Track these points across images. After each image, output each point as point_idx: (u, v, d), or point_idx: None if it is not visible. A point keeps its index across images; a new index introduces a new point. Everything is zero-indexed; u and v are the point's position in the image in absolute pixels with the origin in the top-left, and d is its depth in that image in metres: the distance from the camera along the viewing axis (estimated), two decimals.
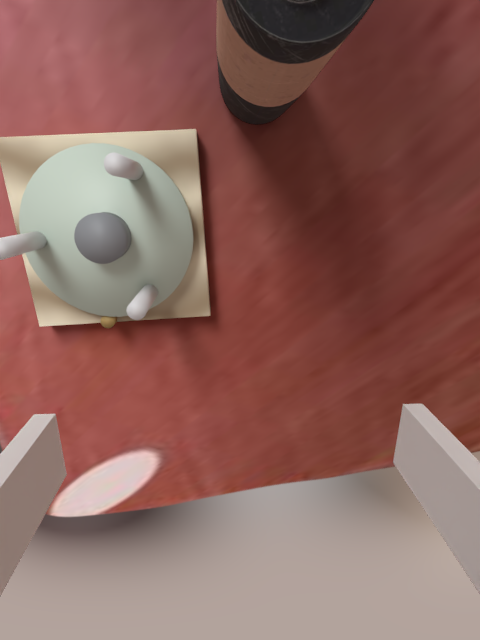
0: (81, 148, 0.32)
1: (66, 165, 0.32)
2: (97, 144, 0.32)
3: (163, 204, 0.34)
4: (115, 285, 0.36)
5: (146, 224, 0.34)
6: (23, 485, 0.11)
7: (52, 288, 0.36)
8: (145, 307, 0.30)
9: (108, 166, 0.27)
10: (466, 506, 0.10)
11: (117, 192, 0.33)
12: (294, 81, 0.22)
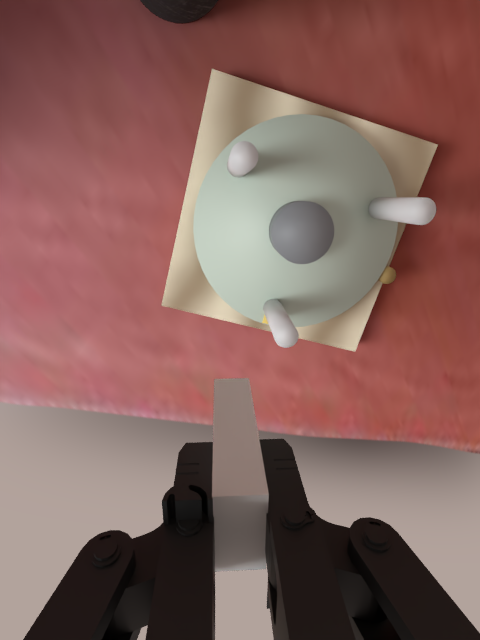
0: (197, 217, 0.27)
1: (209, 241, 0.28)
2: (198, 197, 0.27)
3: (286, 144, 0.26)
4: (352, 247, 0.29)
5: (300, 177, 0.27)
6: None
7: (326, 316, 0.31)
8: None
9: (243, 166, 0.21)
10: None
11: (255, 196, 0.27)
12: None
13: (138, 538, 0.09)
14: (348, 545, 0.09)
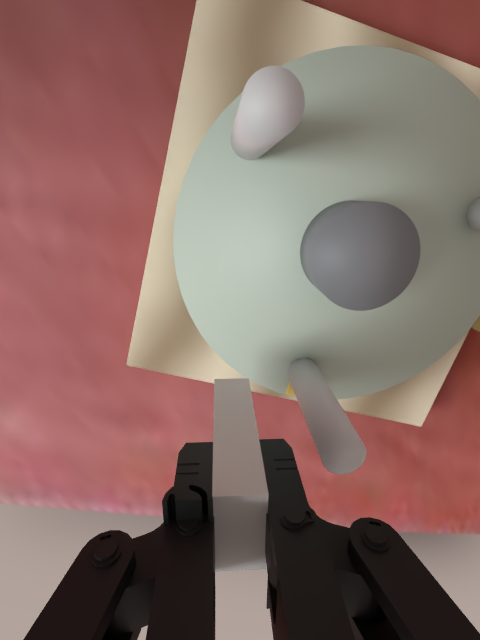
0: (180, 229, 0.16)
1: (200, 269, 0.17)
2: (181, 194, 0.16)
3: (335, 101, 0.15)
4: (435, 276, 0.18)
5: (357, 160, 0.16)
6: None
7: (386, 383, 0.19)
8: None
9: (272, 125, 0.09)
10: None
11: (278, 193, 0.16)
12: None
13: (138, 538, 0.09)
14: (348, 545, 0.09)
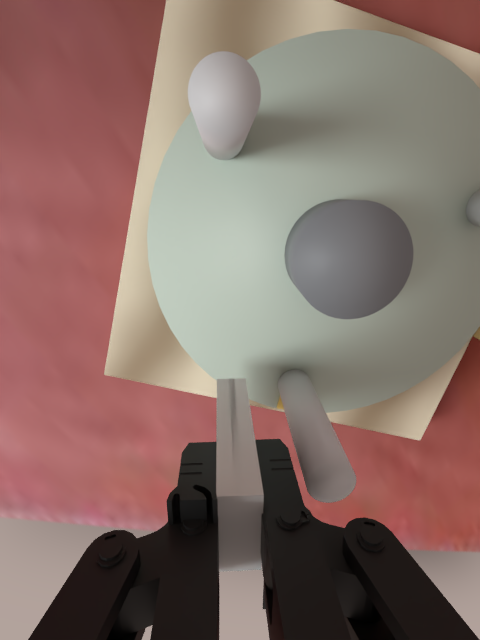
0: (154, 237, 0.15)
1: (178, 278, 0.16)
2: (153, 200, 0.15)
3: (315, 92, 0.14)
4: (434, 277, 0.16)
5: (342, 155, 0.14)
6: None
7: (385, 394, 0.18)
8: None
9: (225, 120, 0.08)
10: None
11: (258, 194, 0.15)
12: None
13: (143, 538, 0.09)
14: (343, 545, 0.09)
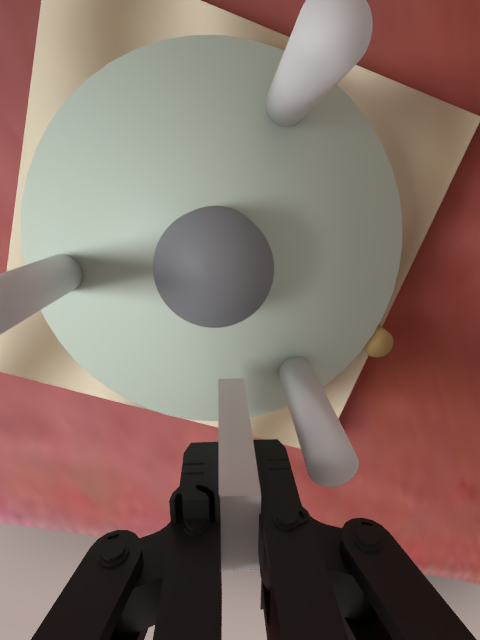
0: (96, 371, 0.17)
1: (138, 381, 0.17)
2: (70, 351, 0.17)
3: (79, 182, 0.14)
4: (310, 194, 0.15)
5: (142, 196, 0.15)
6: None
7: (377, 311, 0.16)
8: (306, 3, 0.08)
9: None
10: None
11: (122, 281, 0.16)
12: None
13: (145, 538, 0.09)
14: (340, 546, 0.09)
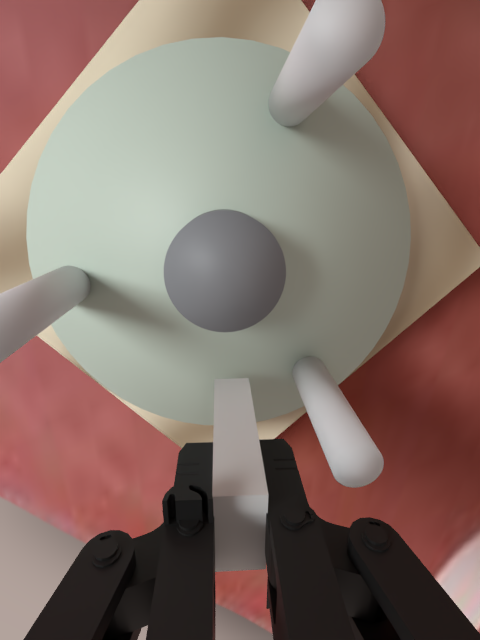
0: (108, 382, 0.17)
1: (151, 389, 0.17)
2: (81, 363, 0.16)
3: (84, 192, 0.14)
4: (317, 193, 0.15)
5: (148, 203, 0.14)
6: None
7: (388, 307, 0.16)
8: None
9: None
10: None
11: (131, 289, 0.15)
12: None
13: (138, 538, 0.09)
14: (348, 545, 0.09)
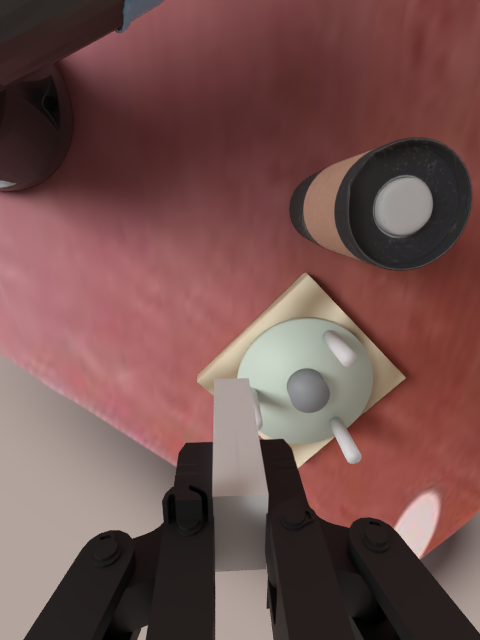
0: None
1: (274, 430, 0.44)
2: None
3: (259, 364, 0.41)
4: (339, 362, 0.42)
5: (280, 367, 0.42)
6: None
7: (366, 399, 0.43)
8: (341, 353, 0.35)
9: (258, 427, 0.36)
10: None
11: (271, 395, 0.43)
12: None
13: (138, 538, 0.09)
14: (348, 545, 0.09)
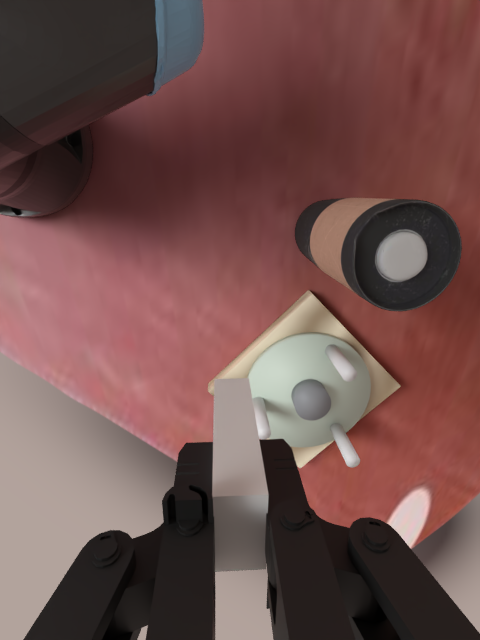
0: None
1: (279, 435, 0.48)
2: None
3: (266, 376, 0.45)
4: (339, 373, 0.45)
5: (285, 378, 0.45)
6: None
7: (364, 406, 0.47)
8: (343, 370, 0.38)
9: (267, 435, 0.40)
10: None
11: (277, 403, 0.46)
12: None
13: (138, 538, 0.09)
14: (348, 545, 0.09)
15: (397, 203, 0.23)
